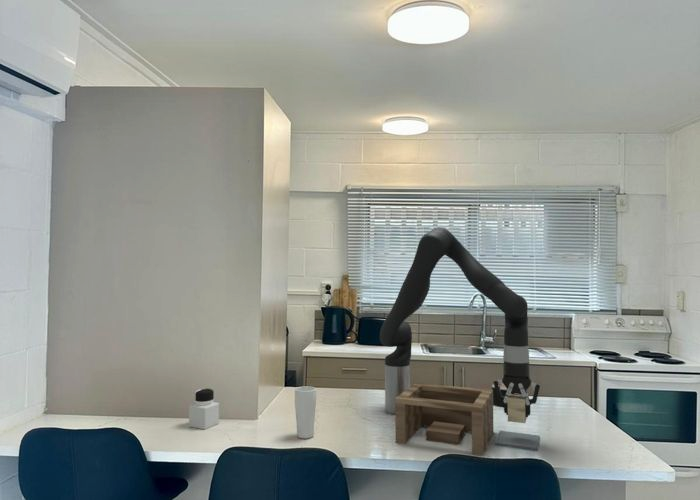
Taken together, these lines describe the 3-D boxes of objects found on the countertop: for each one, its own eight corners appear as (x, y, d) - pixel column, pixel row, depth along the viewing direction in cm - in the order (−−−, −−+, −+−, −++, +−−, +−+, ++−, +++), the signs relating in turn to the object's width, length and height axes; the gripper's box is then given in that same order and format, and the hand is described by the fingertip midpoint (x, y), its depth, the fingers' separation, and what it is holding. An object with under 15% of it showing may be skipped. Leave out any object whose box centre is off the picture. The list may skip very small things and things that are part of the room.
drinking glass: (294, 433, 160) (295, 386, 160) (315, 432, 161) (316, 385, 161) (294, 440, 153) (294, 391, 154) (316, 439, 154) (316, 391, 154)
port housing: (415, 422, 171) (415, 382, 172) (493, 432, 161) (492, 390, 161) (395, 442, 151) (395, 398, 152) (482, 455, 141) (482, 407, 141)
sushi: (496, 400, 199) (496, 380, 199) (517, 404, 194) (517, 383, 194) (489, 405, 192) (488, 384, 193) (510, 408, 187) (510, 387, 188)
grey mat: (499, 432, 160) (499, 430, 160) (539, 438, 155) (539, 435, 155) (494, 445, 149) (494, 442, 149) (537, 451, 144) (537, 448, 144)
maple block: (509, 416, 155) (509, 394, 156) (526, 418, 153) (526, 395, 153) (507, 421, 151) (507, 398, 151) (525, 423, 149) (524, 399, 149)
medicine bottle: (219, 423, 170) (219, 388, 170) (205, 429, 163) (205, 393, 164) (203, 421, 173) (203, 386, 173) (188, 427, 166) (188, 390, 167)
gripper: (541, 359, 153) (542, 415, 153) (494, 356, 159) (494, 409, 158) (540, 363, 146) (541, 422, 146) (490, 360, 152) (491, 416, 152)
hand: (517, 415), depth 152 cm, fingers closed on maple block, 5 cm apart
